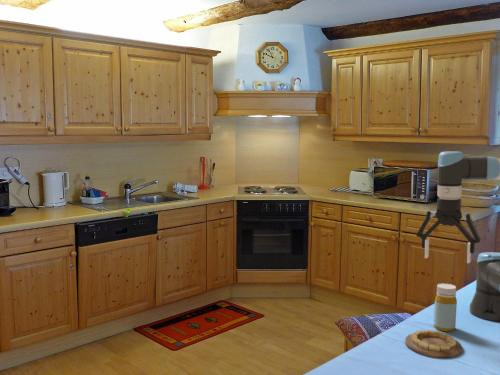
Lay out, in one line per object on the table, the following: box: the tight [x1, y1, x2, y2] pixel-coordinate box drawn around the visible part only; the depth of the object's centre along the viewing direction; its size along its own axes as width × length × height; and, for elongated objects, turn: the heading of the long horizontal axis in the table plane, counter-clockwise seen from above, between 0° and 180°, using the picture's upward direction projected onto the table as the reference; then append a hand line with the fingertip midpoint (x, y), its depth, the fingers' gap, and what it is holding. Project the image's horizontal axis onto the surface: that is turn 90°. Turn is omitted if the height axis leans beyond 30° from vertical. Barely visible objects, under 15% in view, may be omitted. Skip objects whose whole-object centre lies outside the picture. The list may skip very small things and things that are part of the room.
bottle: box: [433, 283, 458, 332], centre depth 181 cm, size 7×7×15 cm
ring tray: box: [404, 329, 463, 359], centre depth 168 cm, size 17×17×2 cm
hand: (447, 259), depth 178 cm, fingers open, 13 cm apart
